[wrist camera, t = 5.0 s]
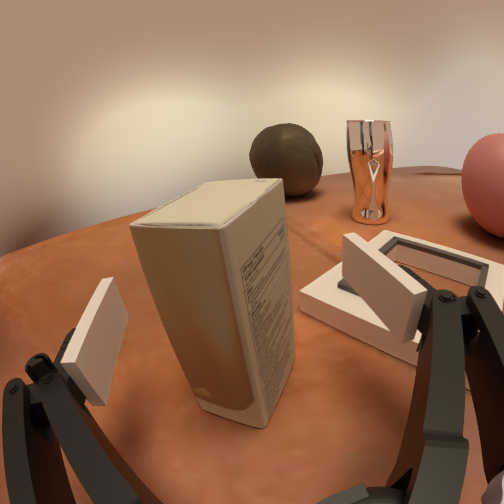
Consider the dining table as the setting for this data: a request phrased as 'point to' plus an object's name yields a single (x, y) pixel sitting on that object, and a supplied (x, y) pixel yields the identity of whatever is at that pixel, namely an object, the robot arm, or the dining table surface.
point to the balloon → (485, 183)
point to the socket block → (404, 251)
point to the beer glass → (370, 168)
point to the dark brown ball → (287, 157)
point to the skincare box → (224, 292)
